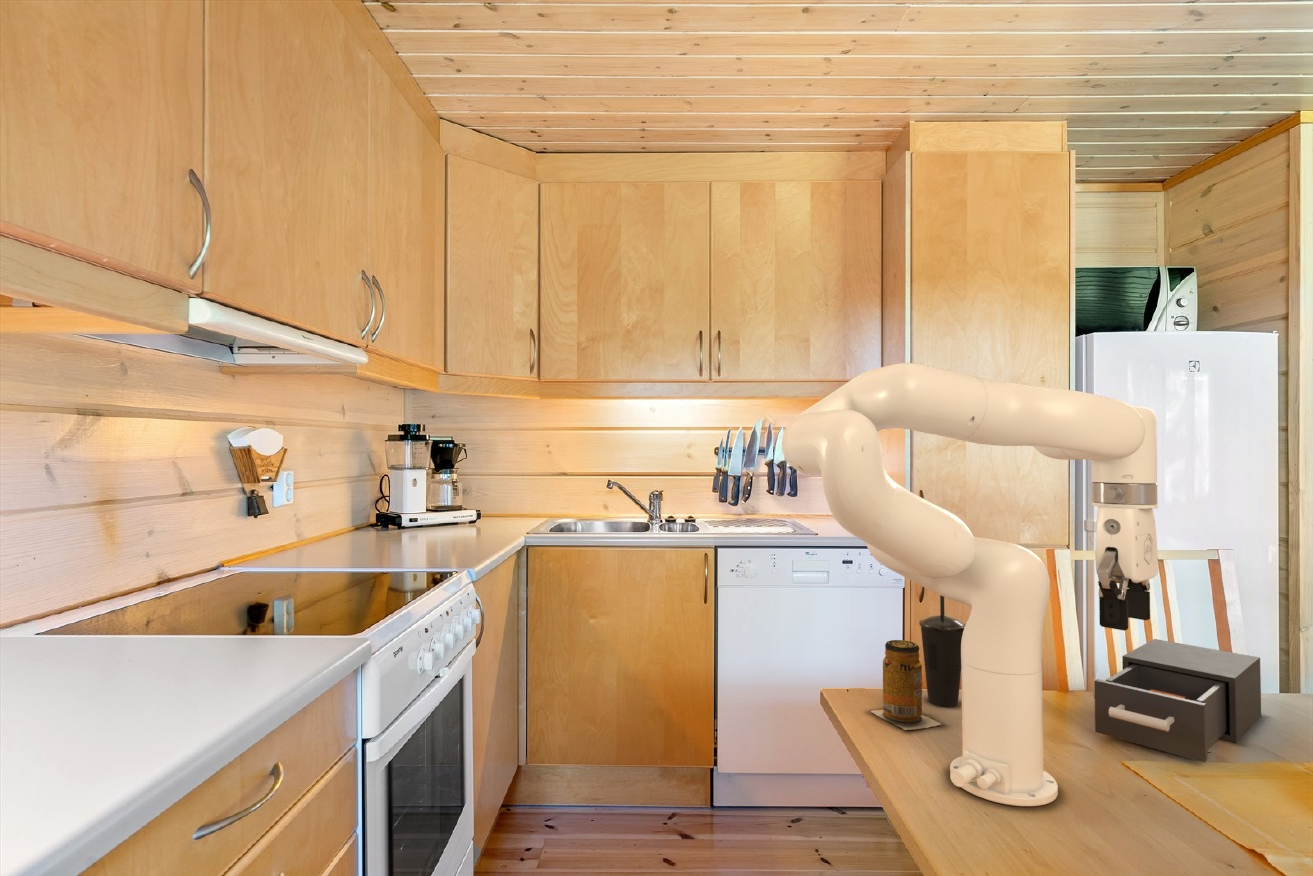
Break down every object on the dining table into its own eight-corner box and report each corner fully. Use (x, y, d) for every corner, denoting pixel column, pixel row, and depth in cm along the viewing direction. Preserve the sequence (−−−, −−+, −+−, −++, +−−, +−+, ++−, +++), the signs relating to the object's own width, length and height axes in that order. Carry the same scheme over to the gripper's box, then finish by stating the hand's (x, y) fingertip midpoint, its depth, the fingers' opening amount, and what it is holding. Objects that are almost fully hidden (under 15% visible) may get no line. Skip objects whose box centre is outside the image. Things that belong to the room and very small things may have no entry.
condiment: (905, 707, 117) (905, 636, 117) (942, 725, 109) (941, 649, 109) (870, 712, 114) (869, 640, 115) (904, 732, 106) (904, 654, 107)
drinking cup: (972, 711, 115) (971, 591, 115) (923, 708, 116) (922, 590, 117) (961, 696, 122) (960, 583, 123) (916, 693, 124) (915, 581, 124)
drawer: (1196, 772, 91) (1195, 712, 91) (1084, 739, 101) (1083, 686, 102) (1233, 733, 103) (1232, 681, 104) (1130, 708, 114) (1129, 660, 114)
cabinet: (1236, 743, 102) (1235, 678, 102) (1123, 714, 114) (1122, 656, 114) (1261, 716, 113) (1260, 657, 113) (1155, 692, 124) (1154, 638, 124)
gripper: (1134, 500, 86) (1136, 639, 86) (1175, 495, 97) (1177, 619, 97) (1069, 497, 92) (1070, 627, 92) (1114, 493, 103) (1116, 609, 103)
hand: (1125, 622), depth 94 cm, fingers open, 8 cm apart
